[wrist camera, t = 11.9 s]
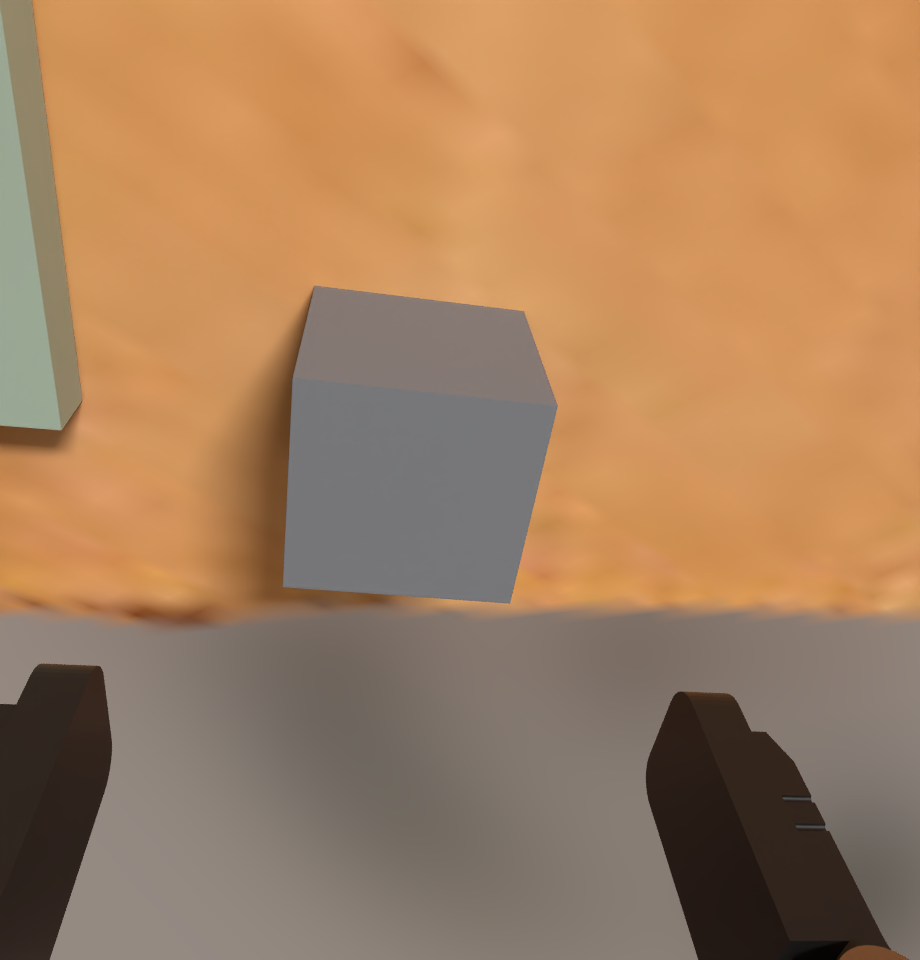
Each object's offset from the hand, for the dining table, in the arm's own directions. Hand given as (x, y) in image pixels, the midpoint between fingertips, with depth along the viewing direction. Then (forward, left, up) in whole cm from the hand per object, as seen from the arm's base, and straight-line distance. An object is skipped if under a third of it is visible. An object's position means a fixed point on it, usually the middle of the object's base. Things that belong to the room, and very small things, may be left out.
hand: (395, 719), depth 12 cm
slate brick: (0, 0, -11) cm, 11 cm away
